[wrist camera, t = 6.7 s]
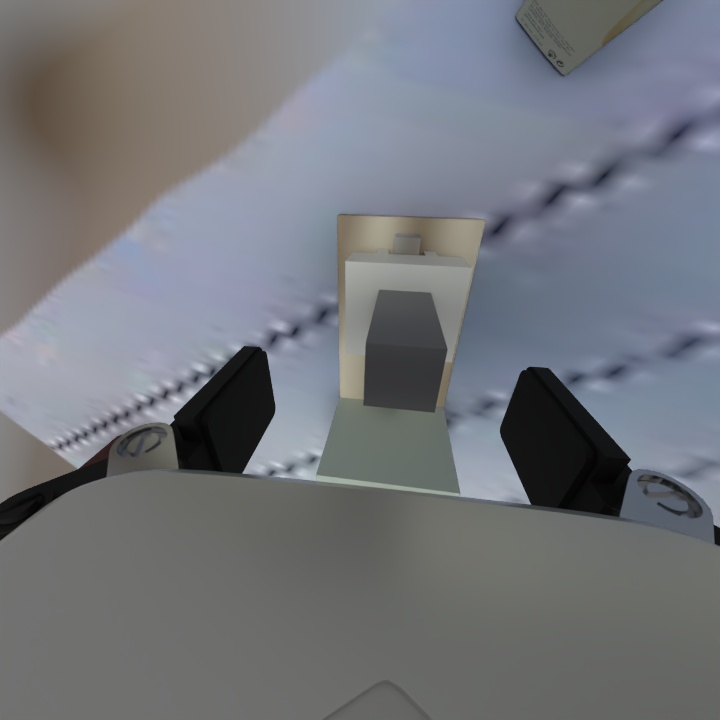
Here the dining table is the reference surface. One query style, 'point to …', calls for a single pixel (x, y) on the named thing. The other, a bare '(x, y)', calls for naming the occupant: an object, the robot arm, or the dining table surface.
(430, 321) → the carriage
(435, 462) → the end cabinet
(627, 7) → the skincare box
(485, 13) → the dining table surface
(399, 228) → the track
